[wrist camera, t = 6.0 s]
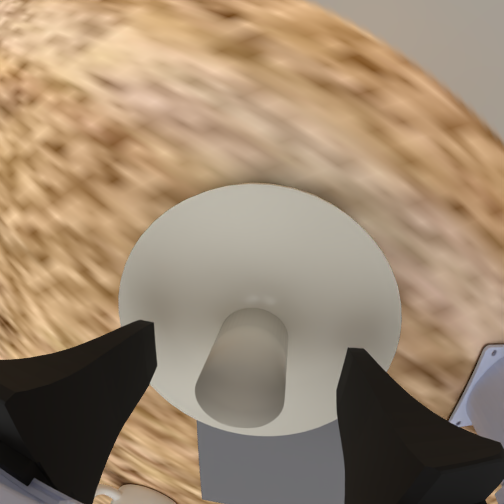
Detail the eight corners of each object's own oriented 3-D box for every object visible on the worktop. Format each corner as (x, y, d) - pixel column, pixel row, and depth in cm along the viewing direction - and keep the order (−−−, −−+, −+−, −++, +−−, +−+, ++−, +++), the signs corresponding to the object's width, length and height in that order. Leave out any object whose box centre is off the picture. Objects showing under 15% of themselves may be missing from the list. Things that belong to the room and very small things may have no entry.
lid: (423, 207, 12) (484, 233, 7) (354, 432, 16) (364, 500, 11) (126, 172, 13) (54, 182, 9) (138, 398, 17) (102, 455, 12)
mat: (412, 409, 20) (413, 413, 19) (353, 508, 24) (354, 511, 24) (197, 392, 21) (195, 397, 21) (203, 495, 26) (202, 499, 25)
